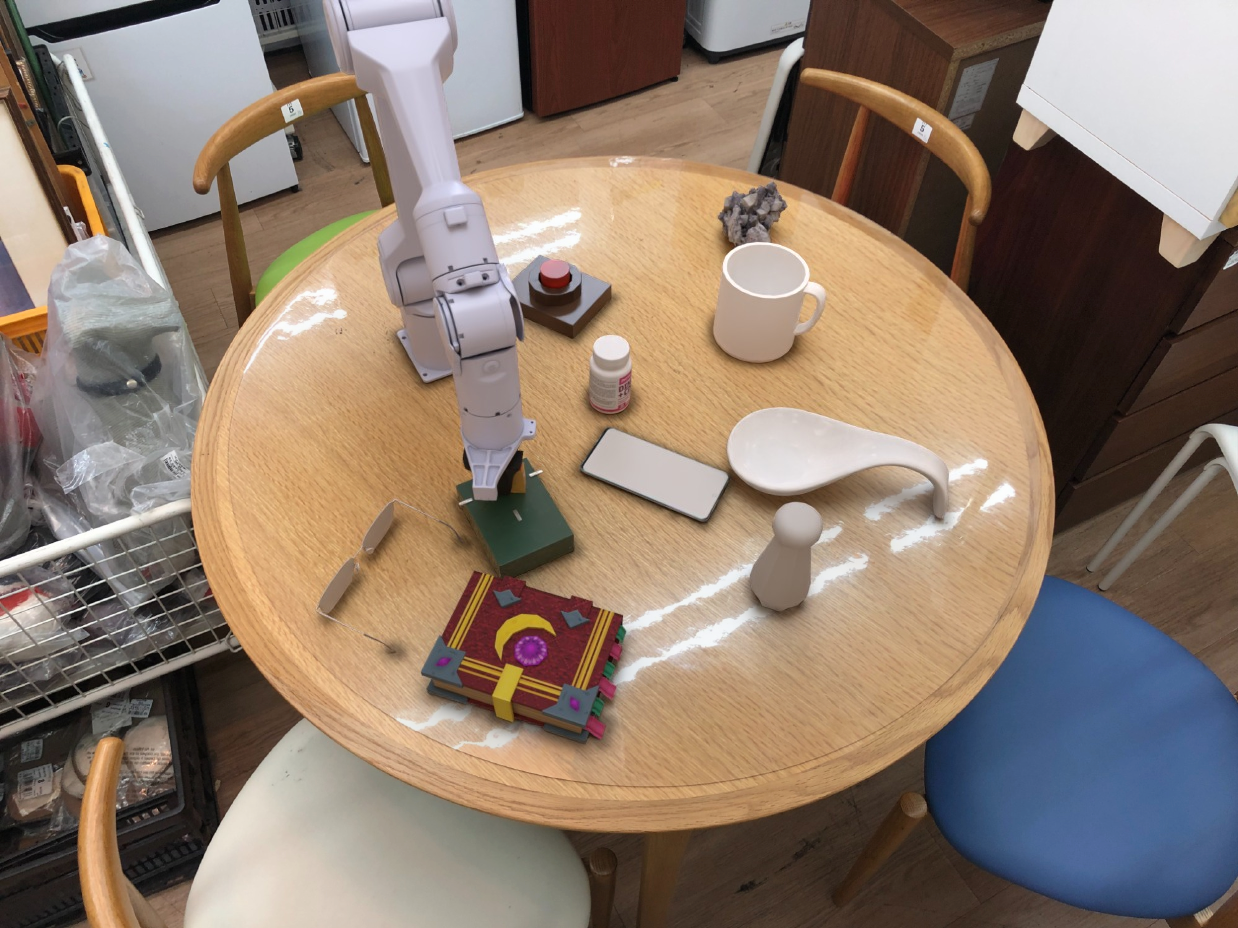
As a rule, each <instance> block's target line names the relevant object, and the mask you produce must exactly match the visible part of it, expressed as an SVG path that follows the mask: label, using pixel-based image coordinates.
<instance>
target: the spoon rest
mask: <svg viewBox="0 0 1238 928" xmlns="http://www.w3.org/2000/svg"><path fill="white" fill-rule="evenodd" d="M726 442H727V443H726V455H727V459H728V463H729V465H730V467H731V469H732V470H733V472H734V473H735V475H737V476H738V478H740V479H741V481H743V482H744V483H745V484H746V485H748V486H749V487H751V488H752V489H755V490H757V491H759V492H761V493H764V494H768V495H772V496H778V497H781V496H782V497H791V496H792V497H793V496H798V495H803V494H807V493H811V492H813V491H815V490H818V489H821V488H823V487H826V486H829V485H831V484H834V483H836V482H838V481H840V480H843V479H845V478H847V477H850V476H852V475H855V474H858V473H862V472H864V471H867V470H870V469H875V468H879V467H899V468H904V469H908V470H910V471H913V472H915V473H918V474H920V475H922V476H923V477H925V478H926V479H927V480H929V482H930V483H931V485H932V486H933V494H932V510H933V514H934V515H935V517H937V518H939V519H943V518H944V517H945V515H946V513H947V510H948V505H949V482H950V481H949V478H950V471H949V467H948V465H947V464H946V462H945V460H943V458H941V457H940V456H939V455H938V454H936V453H935V452H933V451H932V450H930V449H928V448H926V447H925V446H924V445H921V444H919V443H917V442H915V441H912V440H909V439H906V438H902V437H899V436H896V435H892V434H887V433H883V432H879V431H874V430H871V429H867V428H864V427H860V426H856V425H854V424H850V423H847V422H845V421H841V420H839V419H838V420H837V419H835V418H832V417H828V416H826V415H822V414H819V413H815V412H811V411H808V410H805V409H800V408H795V407H794V408H793V407H787V406H779V407H778V406H775V407H766V408H761V409H759V410H758V409H757V410H755V411H753V412H751V413H748V414H747V415H745V416H744V417H743V418H741V419H739V420H738V422H737V423H736V424H735V425H734V426H733V428H732V429H731V431H730V434H729V437H728V439H727V441H726Z"/></svg>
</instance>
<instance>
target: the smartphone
mask: <svg viewBox="0 0 1238 928" xmlns="http://www.w3.org/2000/svg"><path fill="white" fill-rule="evenodd" d="M580 471H581V472H582V473H583V474H586V475H587V476H590V477H592V478H595V479H597V480H600V481H602V482H604V483H606V484H610V485H612V486H613V487H617V488H619V489H621V490H624V491H625V492H628V493H632V494H634V495H637V496H639V497H641V498H643V499H645V500H648V501H651V502H654V503H656V504H658V505H660V506H663V507H666V508H667V509H670V510H673V511H675V512H677V513H679V514H682V515H685V516H687V517H690V518H692V519H695V520H697V521H699V522H707V521H708V520H709V519H710V517H711V515H712V513H713V512H714V510H715V508H716V506H717V504H718V502H719V501H720V499H721V496H722V495H723V493H724V491H725V489H726V487H727V485H728V483H729V481H730V479H731V477H730V474H729V473H728V472H726V471H723V470H721V469H718V468H716V467H713V466H710V465H709V464H707V463H704V462H700V461H698V460H695V459H694V458H690V457H688V456H686V455H683V454H681V453H678V452H675V451H673V450H671V449H667V448H665V447H662V446H660V445H657V444H655V443H653V442H649V441H647V440H644V439H642V438H640V437H638V436H635V435H632V434H630V433H627V432H624V431H622V430H619V429H617V428H615V427H611V426H610V427H606V428H605V429H603V432H602V433H601V434H600V435H599V437H598V439H597V440H596V442H595V443H594V444H593V446H592V448H590V451H589V452H588V453H587V455H586V456H585V458H584V460H583V461H582V463H581V464H580Z"/></svg>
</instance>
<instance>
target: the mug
mask: <svg viewBox="0 0 1238 928" xmlns="http://www.w3.org/2000/svg"><path fill="white" fill-rule="evenodd" d="M720 272H721V274H720V278H719V279H720V280H719V285H718V294H717V300H716V305H715V306H716V307H715V313H714V320H713V327H712V331H713V337H714V340H715V342H716V344H717V345H718V347H720V349H721V350H722V351H723V352H725V353H726V354H727V355H729V356H730V357H732V358H735V359H736V360H739V361H743V362H747V363H760V364H761V363H767V362H769V363H770V362H773V361H775V360H778V359H780V358H782V357H783V356H784V355H786V354H788V352H789V351H790V350H791V348H792V347H793V344H794V341H795V337H796V336H799V335H804V334H806V333H808V332H809V331H811V330H812V329H813V328H814V327H815V326H816V324H817V323H819V321H820V320H821V317H822V315H823V313H824V311H825V307H826V303H827V293H826V289H825V288H824V287H823V286H822V285H821V284H819V283H817V282H815V281H809V279H810V277H811V276H810V275H811V274H810V267H809V266H808V264H807V262H806V260H805V259H804V258H803V257H802V256H801V255H800V254H799V253H798V252H796V251H795V250H793V249H791V248H789V247H786V246H784V245H781V244H778V243H772V242H770V243H768V242H754V243H747V244H744V245H741V246H738V247H734V248H733V249H732V250H730V251H729V252H728V253H727V254H726V256H724V259H723V262H722V266H721V271H720ZM806 295H809V296H812V297H813V298H814V299H815V302H816V306H815V309H814V311H813V314H812V315H811V317H810V318H809V319H807V320H806V321H804V322H799V320H800V316H801V312H802V307H803V305H804V300H805V296H806Z"/></svg>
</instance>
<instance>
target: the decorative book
mask: <svg viewBox="0 0 1238 928" xmlns="http://www.w3.org/2000/svg"><path fill="white" fill-rule="evenodd" d="M626 634H627V629H626V628H625V627H624V614H621V613H618V612H615V611H612V610H608V609H604V608H602V607H599V606H594V601H593V600H590V599H586V598H583V597H580V596H576V595H574V594H572V595H570V597H569V598H568V597H566V596H565V597H564V596H562V595H559V594H555V593H551V592H548V591H545V590H541V589H538V588H535V587H532V586H529V585H527V581H526V580H523V579H520V578H516V577H510V576H507V575H505V576H504V578H503V579H502V578H499V576H495V575H491V574H489V573H484V572H481V571H479V570H476V569H475V570H473V572H472V574H471V576H470V578H469V579H468V582H467V584H466V586H465V588H464V590H463V592H462V594H461V596H460V598H459V600H458V602H457V604H456V606H455V608H454V610H453V611H452V614H451V616H450V618H449V620H448V621H447V624H446V626H445V628H444V629H443V632H442V634H439V635H438V637H437V639H436V641H435V643H434V645H433V647H432V649H431V651H430V652H429V655H428V656H427V659H426V661H425V662H424V665H423V666H422V668H421V670H420V675H421V676H422V677H425V678H428V679H430V681H429V683H428V684H427V686H426V692H427V693H429V694H433V695H435V696H438V697H442V698H445V699H447V700H451V701H455V702H457V703H460V704H463V705H468V704H471V705H474V706H476V707H480V708H483V709H486V710H489V711H492V712H495V717H496V718H499V719H503V720H506V721H509V722H511V723H514V721H515V719H516V720H519V721H523V722H525V723H529V724H532V725H535V726H538V727H541V728H543V730H544V731H546V732H548V733H551V734H554V735H557V736H561V737H563V738H566V739H568V740H569V739H570V740H572V741H575V742H578V743H582V744H584V745H586V743H587V740H588V738H589V735H590V734H592V735H593V736H594V737H596V738H597V739H598V740H602V738H603V735H604V733H605V730H606V727H607V725H606V724H604V723H602V722H601V721H599V720H598V719H597V718H596V715H597V716H598V717H600V716H601V713H602V711H603V708H604V705H605V701H604V700H602V699H601V698H600V697H601V695H602V694H603V695H604V696H605V697H607V698H608V699H610V700H611V701H613V699H614V697H615V694H616V691H617V688H618V686H617V685H615V684H614V683H612V682H611V681H610V680H611V679H612V677H613V674H614V671H615V668H616V665H615V664H613V661H614V660H616V662H617V663H619V661H620V658H621V656H622V653H623V648H622V646H621V645H620V643H621V644H623V643H624V640H625V638H626ZM609 679H610V680H609Z"/></svg>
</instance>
